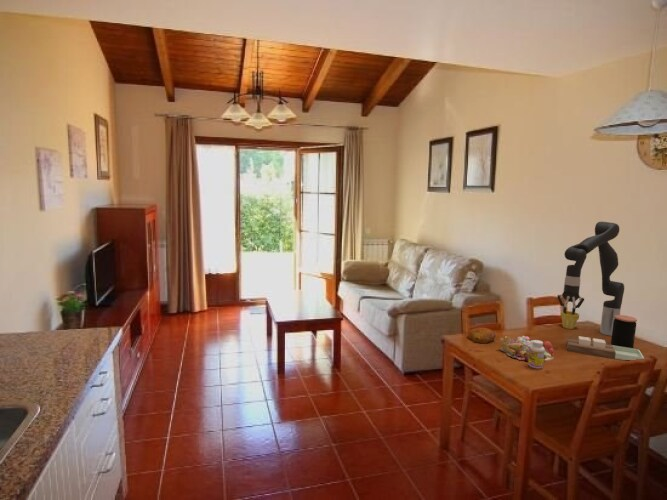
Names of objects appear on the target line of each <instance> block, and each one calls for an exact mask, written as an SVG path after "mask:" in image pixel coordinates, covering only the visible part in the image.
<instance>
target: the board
mask: <svg viewBox="0 0 667 500" xmlns="http://www.w3.org/2000/svg"><path fill="white" fill-rule="evenodd" d="M592 342H593V340H591V344H590V346H587V345H581V344H579V343H578V338H574V337H566V348H567V352H573V353H577V354H583V355H591V356H595V357H596V356H597V357H601V358H602V357H603V358H608V359H615V354H616V352H615V350H614V348H613V346H612V344H611V343H607V342H606V346H605V348H600V347H593V344H592ZM615 360H616V359H615Z"/></svg>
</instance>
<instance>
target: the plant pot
mask: <svg viewBox="0 0 667 500" xmlns="http://www.w3.org/2000/svg"><path fill="white" fill-rule="evenodd" d="M560 317H561V324H562V327H563V328H565V329H568V330H574V329H575V327H576V324H577V322H578V321H579V319H580V313H578V312H576V311H575V314H573V315H572V310H571V311H570V310H566V314H564V312H563V310H561V312H560Z"/></svg>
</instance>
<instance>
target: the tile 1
mask: <svg viewBox="0 0 667 500" xmlns="http://www.w3.org/2000/svg"><path fill="white" fill-rule="evenodd" d="M577 339H578V343H579V344H581V345H587V346H590V344H591V341H592V340H591V337H587V336H586V337H585V336H582V335H581V336H580V335H578V338H577Z"/></svg>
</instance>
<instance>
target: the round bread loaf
mask: <svg viewBox="0 0 667 500" xmlns="http://www.w3.org/2000/svg"><path fill="white" fill-rule="evenodd" d="M468 339H469V340H470V341H473V342H476V343H478V344H486V343H490V342H492V341H494V340H495V339H496V333H495V331H493V330H492V329H490V328H488V327H476V328H472V329H470V330H469V331H468Z"/></svg>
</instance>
